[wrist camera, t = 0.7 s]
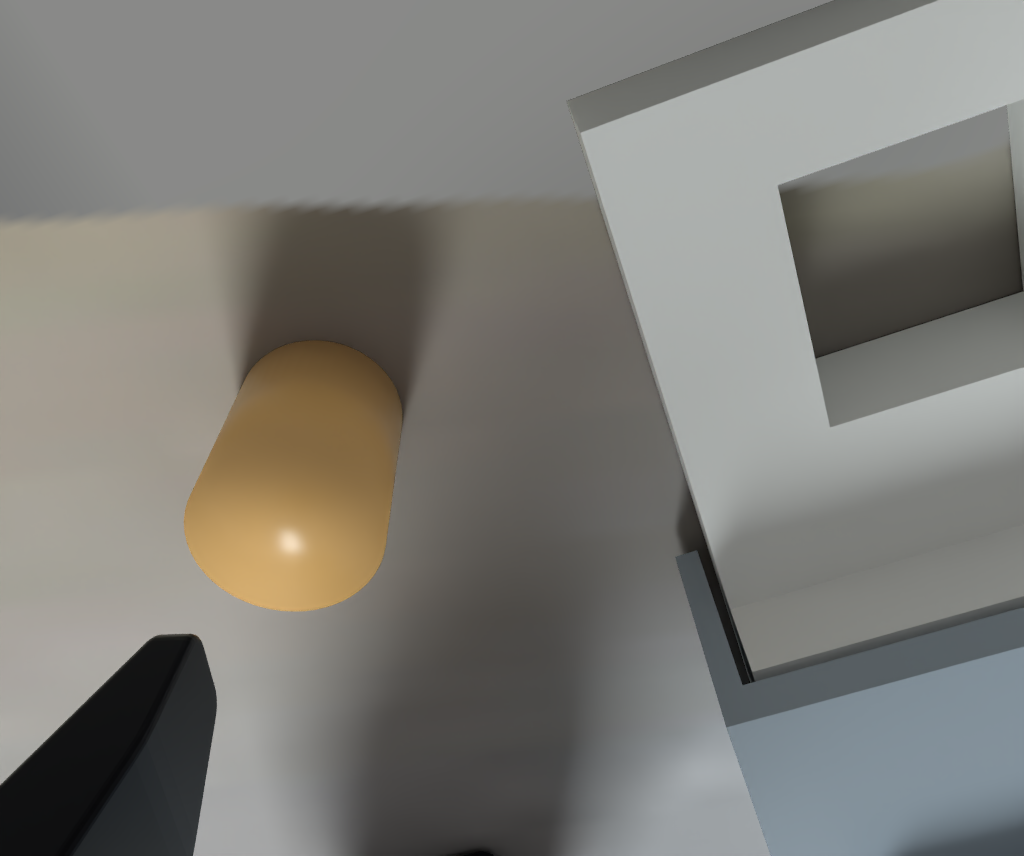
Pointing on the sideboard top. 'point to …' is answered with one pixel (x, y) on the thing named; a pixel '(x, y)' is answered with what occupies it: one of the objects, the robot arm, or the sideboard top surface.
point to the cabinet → (881, 740)
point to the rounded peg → (299, 480)
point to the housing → (786, 338)
